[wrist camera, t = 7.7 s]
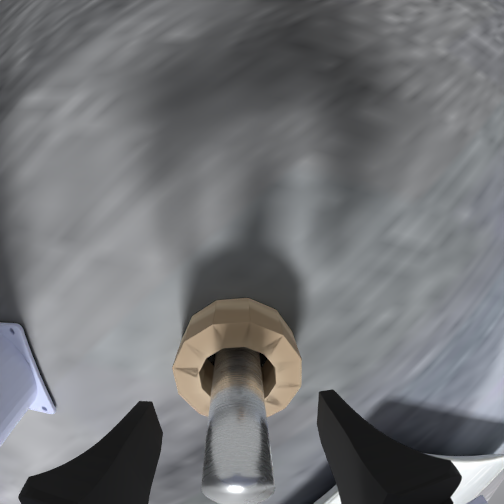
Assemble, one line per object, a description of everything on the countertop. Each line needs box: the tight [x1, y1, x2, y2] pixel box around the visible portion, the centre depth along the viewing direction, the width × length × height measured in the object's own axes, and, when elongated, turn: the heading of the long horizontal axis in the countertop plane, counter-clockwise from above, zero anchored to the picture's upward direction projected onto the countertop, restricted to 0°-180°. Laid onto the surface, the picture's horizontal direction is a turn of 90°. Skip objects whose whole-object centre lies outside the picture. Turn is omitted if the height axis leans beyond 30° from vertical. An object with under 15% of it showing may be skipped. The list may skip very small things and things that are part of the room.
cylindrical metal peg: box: [201, 347, 275, 504], centre depth 13 cm, size 2×2×10 cm
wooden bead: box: [172, 298, 301, 417], centre depth 16 cm, size 6×6×3 cm
